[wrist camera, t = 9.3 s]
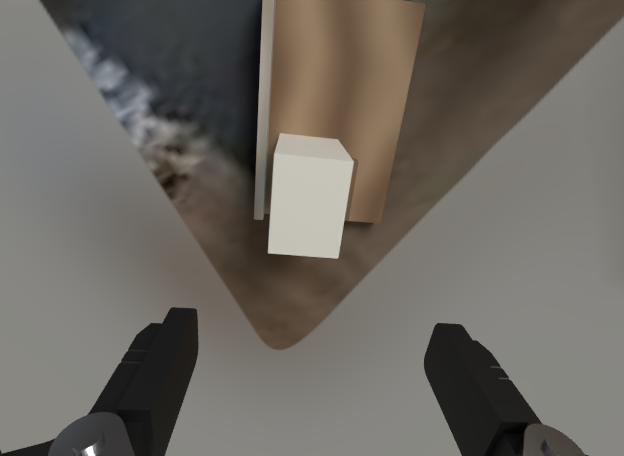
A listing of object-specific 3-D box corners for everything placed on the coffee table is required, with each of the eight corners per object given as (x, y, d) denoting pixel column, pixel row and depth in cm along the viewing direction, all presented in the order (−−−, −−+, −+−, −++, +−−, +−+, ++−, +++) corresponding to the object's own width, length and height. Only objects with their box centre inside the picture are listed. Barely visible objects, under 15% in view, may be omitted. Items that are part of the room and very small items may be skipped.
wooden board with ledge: (257, 207, 32) (253, 219, 30) (267, -14, 25) (263, -26, 22) (377, 217, 33) (384, 229, 31) (419, 7, 26) (434, -1, 23)
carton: (274, 209, 31) (267, 253, 23) (279, 133, 28) (273, 153, 20) (327, 214, 31) (338, 258, 24) (338, 139, 29) (353, 161, 21)
